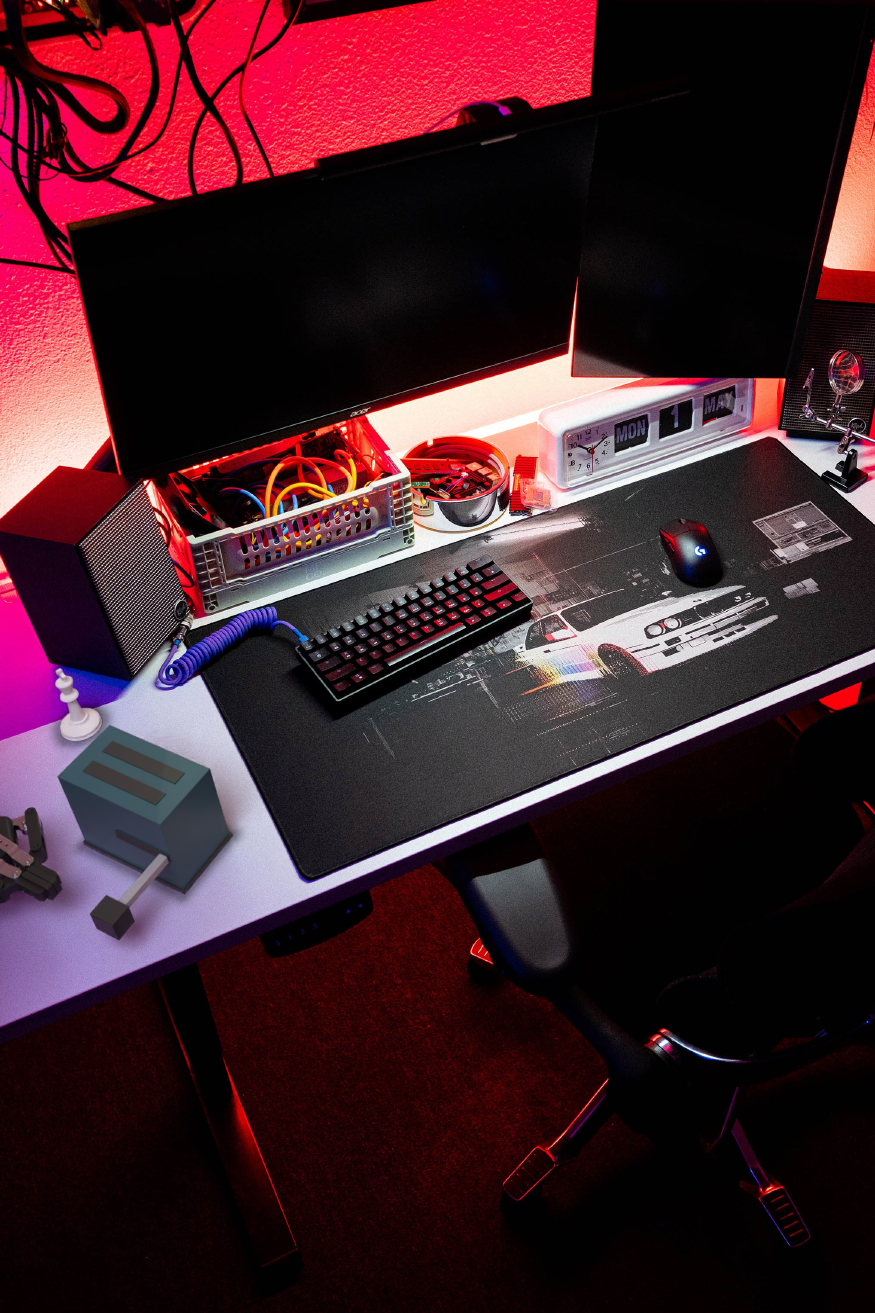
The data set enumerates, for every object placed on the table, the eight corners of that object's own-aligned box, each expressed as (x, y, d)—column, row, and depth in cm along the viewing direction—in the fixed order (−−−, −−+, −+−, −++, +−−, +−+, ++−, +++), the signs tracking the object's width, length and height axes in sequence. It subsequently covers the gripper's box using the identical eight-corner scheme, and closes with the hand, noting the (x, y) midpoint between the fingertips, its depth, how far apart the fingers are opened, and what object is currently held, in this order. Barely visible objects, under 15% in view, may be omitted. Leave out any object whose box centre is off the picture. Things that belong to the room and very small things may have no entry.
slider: (119, 941, 113) (112, 925, 111) (96, 929, 114) (89, 913, 112) (178, 871, 119) (172, 855, 117) (156, 860, 120) (150, 844, 118)
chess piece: (74, 747, 138) (51, 691, 132) (53, 727, 141) (29, 671, 134) (109, 724, 141) (89, 668, 134) (88, 705, 143) (67, 649, 137)
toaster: (184, 894, 122) (160, 826, 114) (83, 845, 127) (53, 776, 119) (233, 836, 128) (212, 767, 120) (134, 790, 133) (109, 722, 125)
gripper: (-129, 854, 115) (-5, 922, 109) (-27, 761, 124) (92, 819, 118) (-102, 896, 120) (18, 963, 114) (-6, 804, 129) (110, 862, 123)
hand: (56, 890), depth 116 cm, fingers closed
